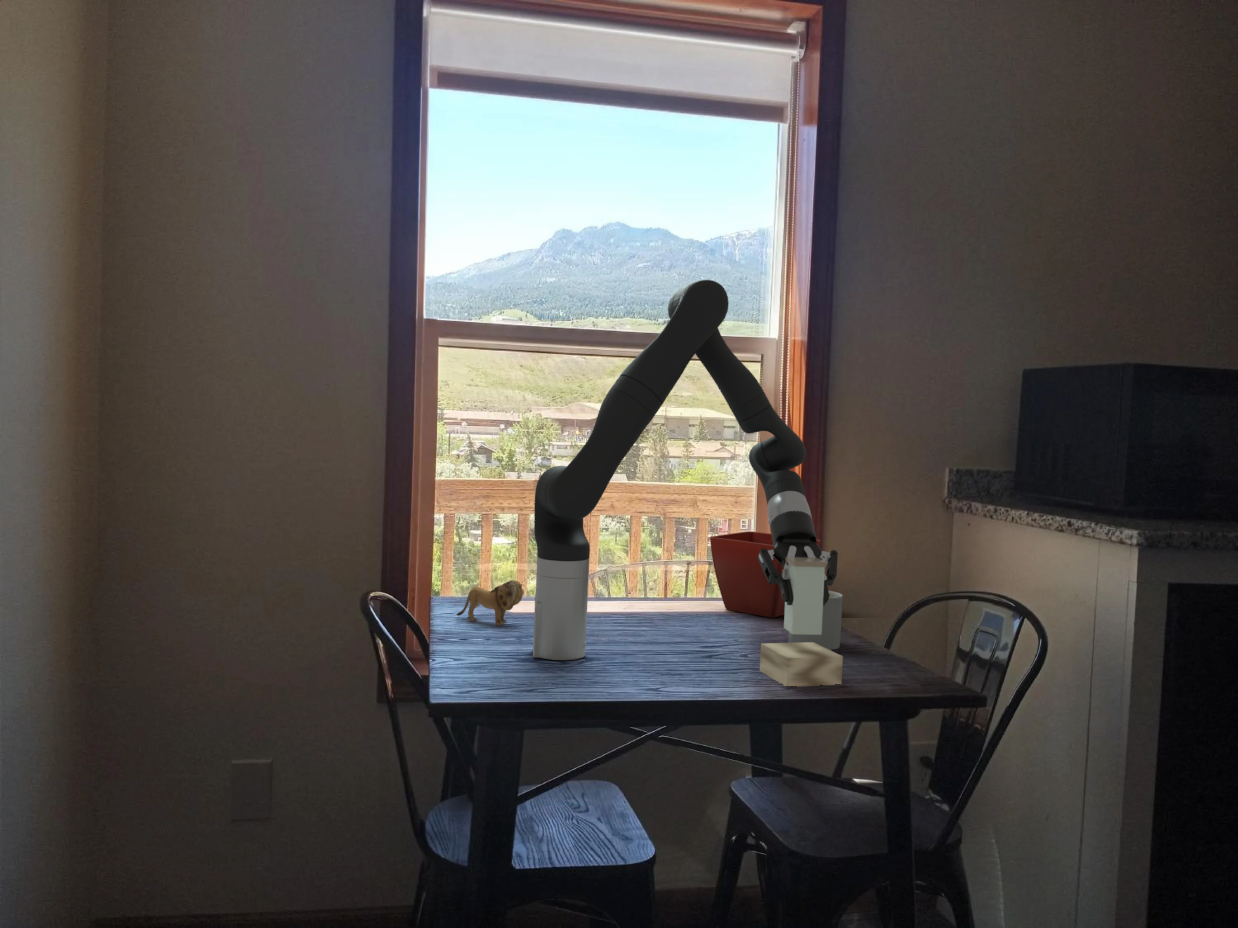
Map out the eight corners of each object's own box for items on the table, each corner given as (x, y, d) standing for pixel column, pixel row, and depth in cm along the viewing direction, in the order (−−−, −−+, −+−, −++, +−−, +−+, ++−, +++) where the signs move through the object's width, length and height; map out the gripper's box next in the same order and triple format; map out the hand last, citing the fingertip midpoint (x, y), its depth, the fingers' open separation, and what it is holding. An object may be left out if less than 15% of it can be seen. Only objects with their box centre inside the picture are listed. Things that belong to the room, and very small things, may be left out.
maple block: (786, 688, 152) (787, 657, 152) (759, 672, 162) (761, 643, 162) (841, 686, 155) (842, 656, 155) (811, 670, 165) (813, 642, 165)
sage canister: (791, 634, 156) (794, 561, 155) (782, 627, 161) (785, 556, 160) (823, 634, 156) (826, 562, 156) (813, 627, 161) (816, 557, 161)
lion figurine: (526, 623, 192) (528, 579, 192) (515, 628, 187) (517, 582, 187) (462, 615, 197) (464, 572, 197) (449, 619, 192) (451, 575, 191)
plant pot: (779, 623, 204) (783, 545, 203) (704, 609, 215) (708, 536, 215) (818, 611, 219) (822, 539, 218) (746, 599, 231) (749, 531, 230)
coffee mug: (848, 649, 181) (851, 597, 181) (800, 650, 179) (803, 597, 179) (819, 634, 194) (821, 585, 194) (773, 634, 192) (776, 585, 192)
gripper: (755, 508, 164) (769, 589, 153) (835, 510, 166) (855, 590, 154) (747, 534, 170) (760, 614, 158) (824, 536, 171) (843, 616, 160)
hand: (807, 602), depth 156 cm, fingers closed on sage canister, 5 cm apart
